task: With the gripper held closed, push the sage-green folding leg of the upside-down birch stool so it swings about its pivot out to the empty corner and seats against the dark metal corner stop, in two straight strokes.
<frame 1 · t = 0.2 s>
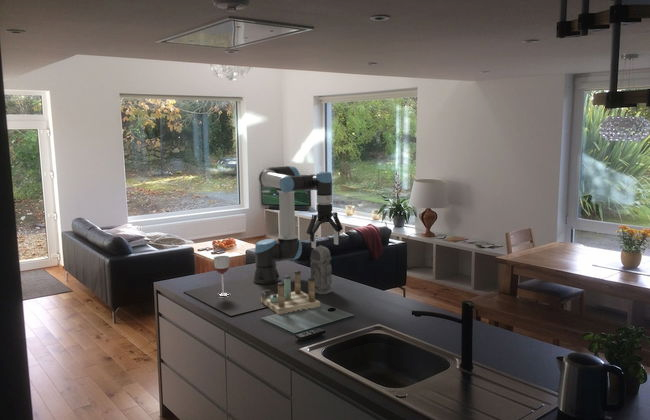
hand: (325, 246, 271), 28 cm above the worktop, fingers open, 13 cm apart
figurine: (321, 291, 291), on the worktop
folding leg: (280, 288, 267), point 8 cm above the worktop, hinge at 0.0°
wineglass: (223, 295, 286), on the worktop
stool: (290, 304, 269), on the worktop
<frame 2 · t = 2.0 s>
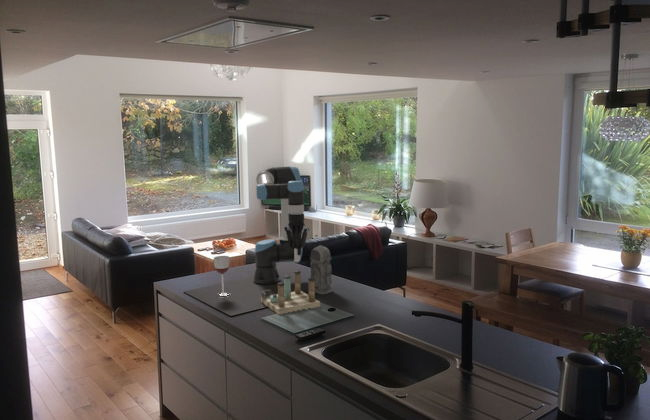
hand: (297, 261, 265), 22 cm above the worktop, fingers closed
nothing on the worktop moved.
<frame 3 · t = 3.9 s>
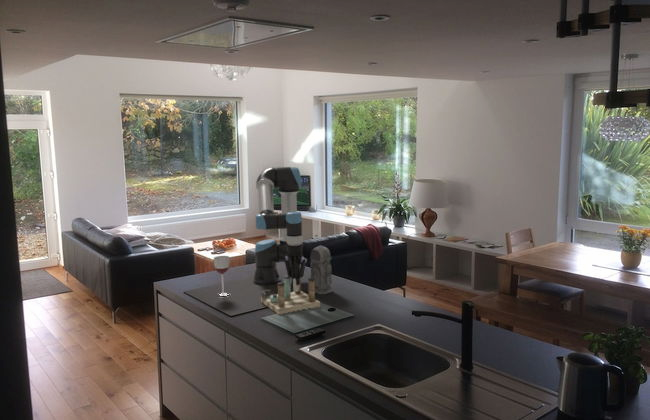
hand: (296, 291, 268), 7 cm above the worktop, fingers closed
folding leg: (280, 288, 267), point 8 cm above the worktop, hinge at 1.3°, touching gripper
everything else where it was.
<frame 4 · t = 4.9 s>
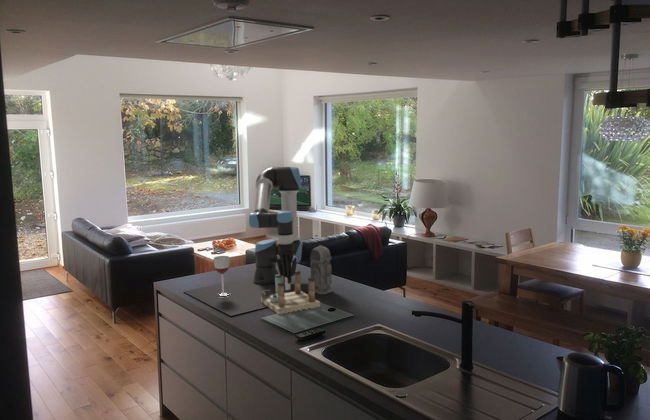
hand: (287, 289, 271), 7 cm above the worktop, fingers closed
folding leg: (276, 288, 268), point 8 cm above the worktop, hinge at 38.0°, touching gripper
everything else where it was.
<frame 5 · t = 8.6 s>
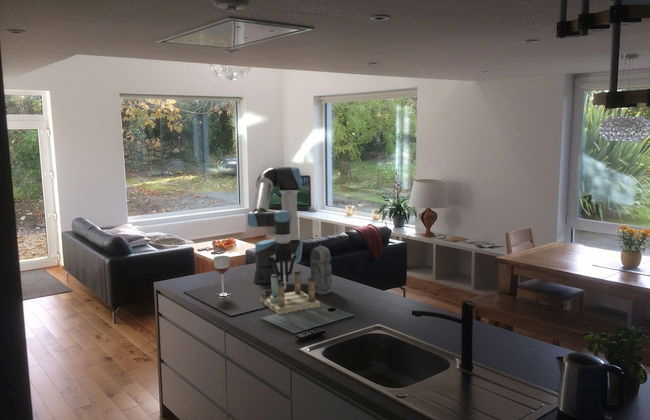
hand: (284, 288, 273), 7 cm above the worktop, fingers closed
folding leg: (274, 288, 268), point 8 cm above the worktop, hinge at 52.5°, touching gripper
everything else where it was.
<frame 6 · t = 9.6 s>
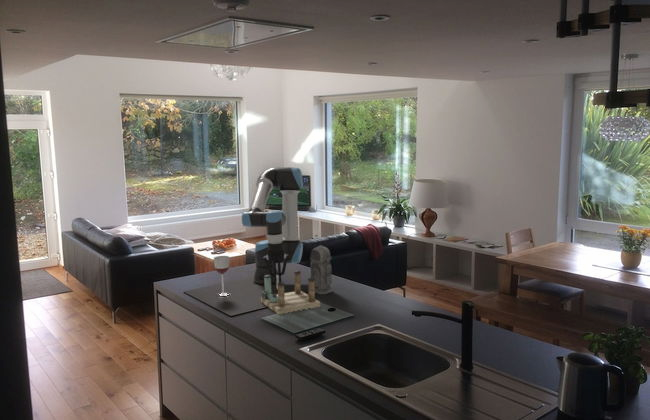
hand: (278, 288, 273), 7 cm above the worktop, fingers closed
folding leg: (271, 288, 268), point 8 cm above the worktop, hinge at 76.8°, touching gripper
everything else where it was.
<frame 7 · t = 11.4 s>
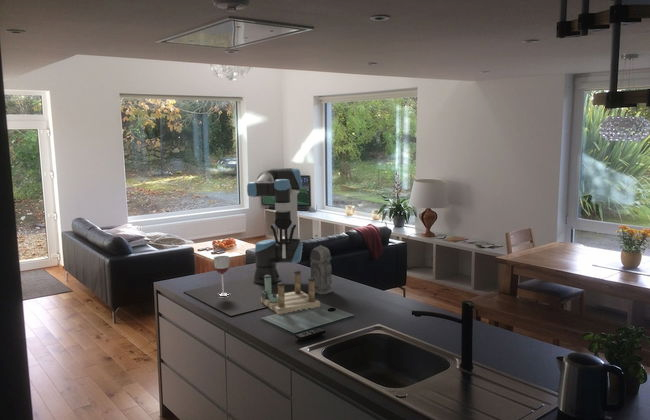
hand: (283, 257, 272), 22 cm above the worktop, fingers closed
folding leg: (271, 288, 268), point 8 cm above the worktop, hinge at 76.2°
everything else where it was.
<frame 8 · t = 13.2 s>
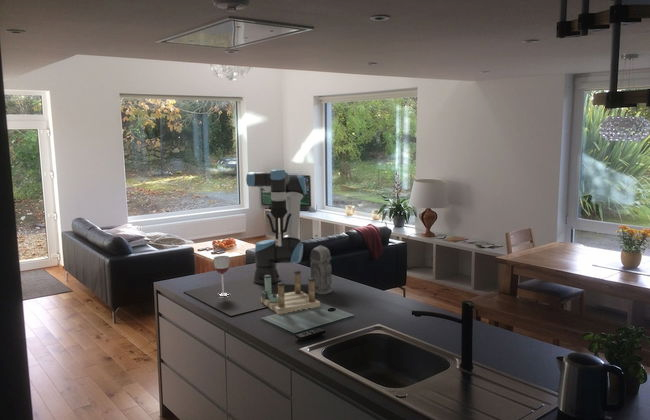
hand: (279, 245, 280), 26 cm above the worktop, fingers closed
nothing on the worktop moved.
at the end: folding leg at +76° (first picture: +0°) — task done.
